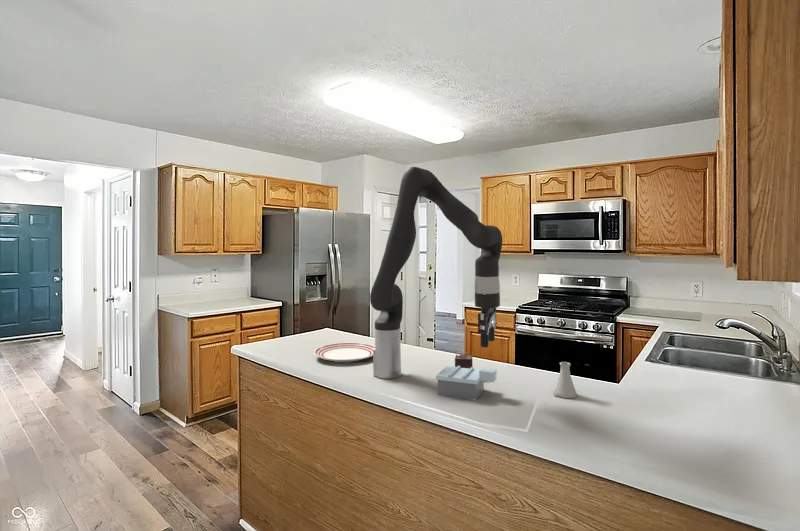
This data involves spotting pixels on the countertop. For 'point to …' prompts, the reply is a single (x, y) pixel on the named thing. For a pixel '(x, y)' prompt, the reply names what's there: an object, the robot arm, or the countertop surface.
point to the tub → (460, 389)
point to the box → (463, 361)
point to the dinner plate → (345, 351)
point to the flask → (565, 383)
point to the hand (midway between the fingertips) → (487, 343)
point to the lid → (467, 375)
